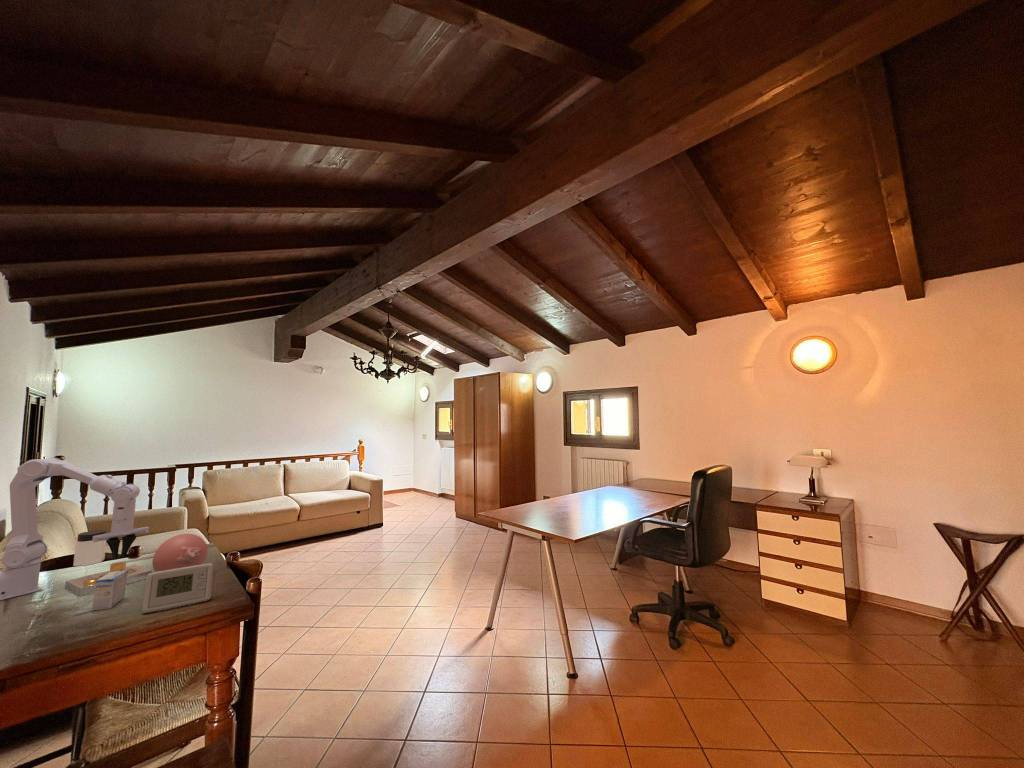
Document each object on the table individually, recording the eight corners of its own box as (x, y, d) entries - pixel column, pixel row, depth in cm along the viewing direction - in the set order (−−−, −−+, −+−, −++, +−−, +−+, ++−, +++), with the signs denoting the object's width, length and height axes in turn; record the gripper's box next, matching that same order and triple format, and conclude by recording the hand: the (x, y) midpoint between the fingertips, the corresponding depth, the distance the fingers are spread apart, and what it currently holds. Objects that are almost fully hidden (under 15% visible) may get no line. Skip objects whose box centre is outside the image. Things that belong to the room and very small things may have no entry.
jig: (79, 596, 126) (81, 585, 127) (64, 588, 133) (66, 577, 133) (150, 577, 142) (151, 567, 143) (134, 571, 149) (135, 561, 149)
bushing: (111, 583, 137) (113, 566, 137) (106, 582, 138) (108, 564, 139) (126, 579, 140) (128, 562, 141) (121, 578, 142) (123, 561, 143)
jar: (100, 558, 165) (103, 528, 167) (108, 560, 161) (111, 530, 163) (69, 564, 157) (73, 533, 159) (76, 567, 154) (80, 536, 155)
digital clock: (137, 616, 113) (141, 577, 114) (151, 603, 121) (154, 567, 122) (206, 605, 119) (208, 569, 120) (215, 594, 127) (217, 560, 128)
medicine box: (106, 600, 123) (109, 571, 124) (124, 598, 125) (127, 569, 126) (91, 611, 116) (94, 580, 117) (111, 608, 118) (114, 578, 119)
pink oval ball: (159, 593, 128) (164, 545, 130) (145, 580, 140) (149, 535, 142) (216, 579, 140) (219, 534, 142) (198, 567, 152) (202, 527, 154)
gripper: (99, 524, 134) (95, 565, 132) (153, 516, 146) (150, 553, 145) (91, 522, 137) (87, 562, 135) (145, 514, 150) (141, 551, 148)
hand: (119, 558), depth 140 cm, fingers closed
